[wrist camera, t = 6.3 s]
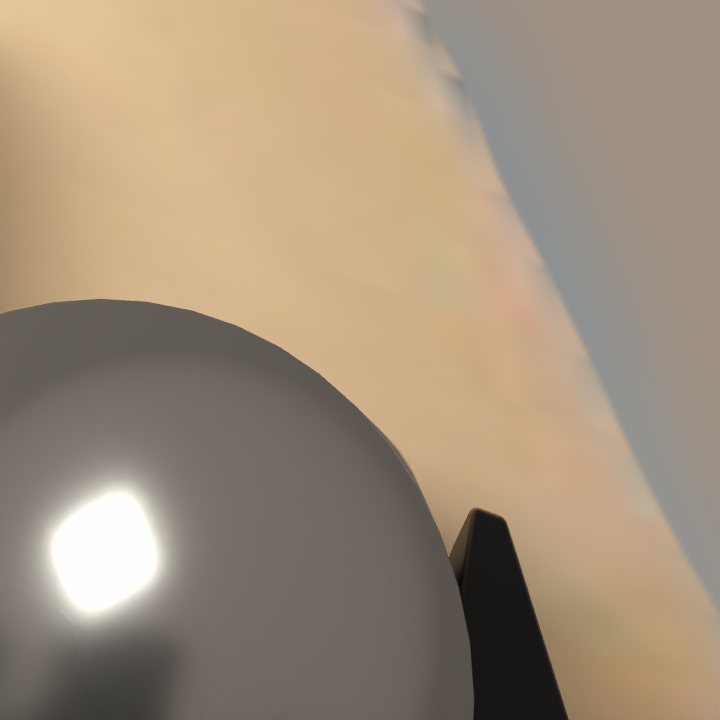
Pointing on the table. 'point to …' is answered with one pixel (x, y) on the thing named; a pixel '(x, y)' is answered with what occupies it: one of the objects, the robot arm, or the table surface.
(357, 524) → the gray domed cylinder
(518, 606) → the robot arm
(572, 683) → the table surface
